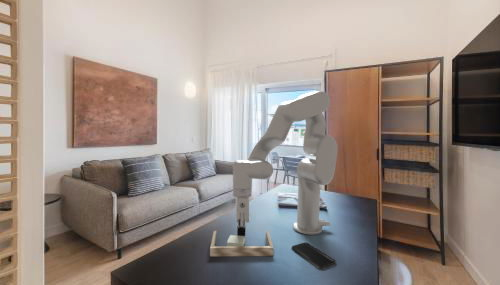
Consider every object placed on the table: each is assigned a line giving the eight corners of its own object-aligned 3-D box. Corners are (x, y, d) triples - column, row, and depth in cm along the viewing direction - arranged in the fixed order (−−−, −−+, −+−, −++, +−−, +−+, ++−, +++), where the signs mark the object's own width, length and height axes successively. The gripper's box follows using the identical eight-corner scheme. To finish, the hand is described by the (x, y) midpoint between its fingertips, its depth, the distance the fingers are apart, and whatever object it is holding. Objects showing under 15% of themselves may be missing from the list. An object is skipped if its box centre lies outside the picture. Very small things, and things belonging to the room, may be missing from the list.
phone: (306, 242, 91) (337, 261, 78) (306, 244, 91) (337, 264, 78) (290, 246, 87) (319, 268, 74) (290, 249, 87) (319, 271, 74)
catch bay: (268, 237, 95) (268, 230, 95) (273, 255, 82) (273, 247, 82) (213, 237, 94) (213, 230, 94) (210, 256, 81) (210, 247, 80)
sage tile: (245, 242, 92) (245, 236, 92) (242, 250, 86) (242, 243, 86) (230, 241, 93) (230, 234, 92) (226, 248, 87) (226, 242, 86)
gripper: (253, 197, 85) (251, 245, 86) (250, 186, 100) (249, 228, 101) (232, 197, 85) (231, 246, 86) (233, 186, 100) (232, 228, 101)
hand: (241, 236), depth 94 cm, fingers closed
